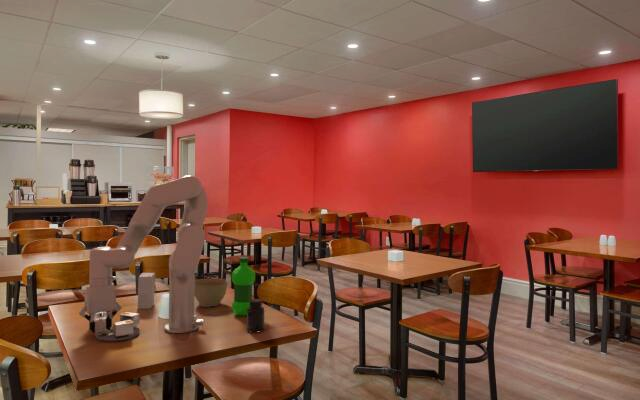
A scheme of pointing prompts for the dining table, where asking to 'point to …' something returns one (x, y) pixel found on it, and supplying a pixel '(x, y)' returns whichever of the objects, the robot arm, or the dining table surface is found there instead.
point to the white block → (100, 324)
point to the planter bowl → (210, 291)
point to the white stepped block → (130, 317)
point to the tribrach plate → (110, 337)
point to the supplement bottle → (255, 316)
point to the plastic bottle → (242, 286)
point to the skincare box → (146, 290)
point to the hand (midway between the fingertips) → (100, 329)
